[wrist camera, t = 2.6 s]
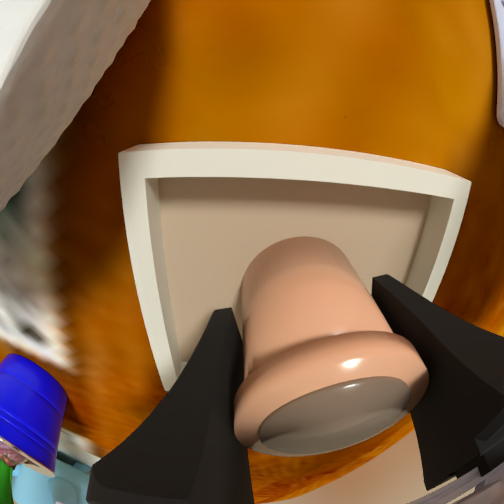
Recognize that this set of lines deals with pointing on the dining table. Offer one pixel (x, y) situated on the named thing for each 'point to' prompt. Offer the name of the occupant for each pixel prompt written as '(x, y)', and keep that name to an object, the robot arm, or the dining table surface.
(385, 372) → the pot
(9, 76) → the cereal bowl
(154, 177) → the square beige tray
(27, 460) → the hyacinth
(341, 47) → the dining table surface
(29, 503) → the teakettle
